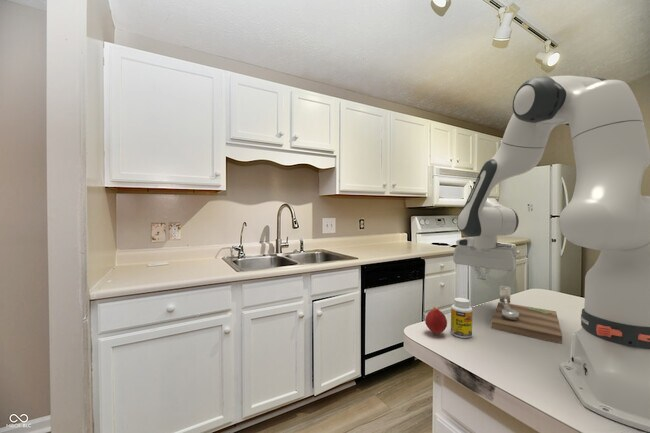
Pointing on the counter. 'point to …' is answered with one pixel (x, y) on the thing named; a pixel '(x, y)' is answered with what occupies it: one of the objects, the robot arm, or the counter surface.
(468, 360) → the counter surface
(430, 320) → the onion
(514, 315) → the silver measuring spoon
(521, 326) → the board
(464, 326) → the supplement bottle
